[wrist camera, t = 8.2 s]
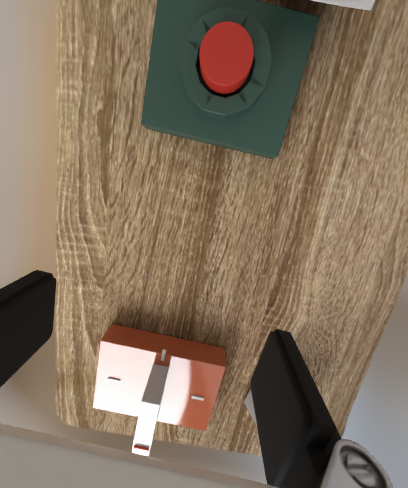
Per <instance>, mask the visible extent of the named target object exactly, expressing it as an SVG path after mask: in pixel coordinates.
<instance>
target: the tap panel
mask: <svg viewBox="0 0 408 488" xmlns="http://www.w3.org/2000/svg"><path fill="white" fill-rule="evenodd" d="M153 364H158V365H162V366H167V367H169V370H168V374H167V379H166V383H165V387H164V392H163V396H162V401H161V405H160V409H159V414H158V418H157V421H160V422H165V423H170V424H175V425H180V426H185V427H189V428H194V429H199V430H204V431H206V428H207V425H208V422H209V419H210V416H211V413H212V410H213V406H214V403H215V400H216V397H217V394H218V391H219V387H220V384H221V381H222V378H223V375H224V372H225V369H226V361H225V348H222V347H218V346H213V345H208V344H204V343H199V342H195V341H190V340H185V339H181V338H176V337H171V336H167V335H162V334H158V333H153V332H148V331H144V330H139V329H134V328H130V327H125V326H121V325H116V324H111V326H110V327H109V329H108V330H107V332H106V333H105V335H104V336H103V337H102V339H101V341H100V349H99V358H98V367H97V375H96V384H95V393H94V401H93V408H97V409H102V410H107V411H112V412H116V413H121V414H126V415H131V416H136V417H138V416H139V411H140V405H141V401H142V397H143V394H144V391H145V388H146V385H147V382H148V378H149V375H150V372H151V369H152V366H153Z"/></svg>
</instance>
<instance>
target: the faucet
mask: <svg viewBox="0 0 408 488" xmlns="http://www.w3.org/2000/svg"><path fill="white" fill-rule="evenodd" d="M312 1H317V2H322V3H327V4H333V5H339V6H344V7H351V8H357V9H363V10H370V11H371V9H372V6H373V4H374V2H375V0H312Z"/></svg>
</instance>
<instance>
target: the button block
mask: <svg viewBox="0 0 408 488" xmlns="http://www.w3.org/2000/svg"><path fill="white" fill-rule="evenodd" d="M226 21H230V22H235V23H237V24H239V25H241V26H242V27H243V28H244V29H245V30H246V31H247V32H248V34H249V35H250V37H251V40H252V43H253V48H254V57H253V62H252V65H251V68H250V71H249V74H248V77H247V79H246V81H245V82H244V84H243V85H242V86H241V87H240V88H239V89H237V90H236V91H234V92H232V93H228V94H221V93H217V92H215V91H213V90H212V89H210V88H209V87H208V86H207V84H206V83H205V81H204V79H203V77H202V73H201V67H200V58H199V52H200V46H201V43H202V40H203V38H204V36H205V35H206V33H207V32H208V31H209V30H210V29H211V28H212V27H213V26H215V25H216V24H218V23H221V22H226ZM318 21H319V16H315V15H311V14H307V13H303V12H299V11H296V10H292V9H288V8H284V7H280V6H276V5H272V4H269V3H265V2H261V1H257V0H157V8H156V15H155V23H154V30H153V38H152V45H151V53H150V60H149V68H148V75H147V83H146V91H145V98H144V106H143V113H142V121H141V124H142V125H143V126H144V127H146V128H147V129H150V130H154V131H158V132H162V133H166V134H170V135H175V136H179V137H183V138H187V139H191V140H195V141H199V142H204V143H208V144H212V145H216V146H220V147H224V148H229V149H233V150H237V151H241V152H245V153H249V154H253V155H258V156H262V157H266V158H270V159H272V158H276V157H278V155H279V151H280V148H281V145H282V141H283V138H284V135H285V131H286V128H287V125H288V121H289V118H290V115H291V111H292V108H293V105H294V101H295V98H296V95H297V91H298V88H299V85H300V81H301V78H302V75H303V71H304V68H305V65H306V61H307V58H308V55H309V51H310V48H311V44H312V41H313V38H314V34H315V31H316V28H317V24H318Z"/></svg>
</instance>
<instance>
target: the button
mask: <svg viewBox="0 0 408 488" xmlns="http://www.w3.org/2000/svg"><path fill="white" fill-rule="evenodd" d="M253 57H254V48H253V43H252V40H251V37H250V35H249V34H248V32H247V31H246V30H245V29H244V28H243V27H242V26H241V25H239V24H237V23H235V22H230V21H226V22H221V23H218V24H216V25H215V26H213V27H212V28H211V29H210V30H209V31H208V32H207V33H206V35H205V36H204V38H203V40H202V43H201V46H200V52H199V58H200V67H201V73H202V77H203V79H204V81H205V83H206V84H207V86H208V87H209V88H210V89H212V90H213V91H215V92H217V93H221V94H228V93H232V92H234V91H236V90H237V89H239V88H240V87H241V86H242V85H243V84H244V82H245V81H246V79H247V77H248V74H249V71H250V68H251V65H252V62H253Z"/></svg>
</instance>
